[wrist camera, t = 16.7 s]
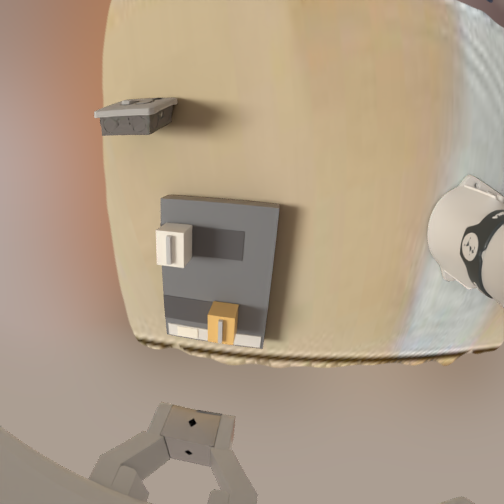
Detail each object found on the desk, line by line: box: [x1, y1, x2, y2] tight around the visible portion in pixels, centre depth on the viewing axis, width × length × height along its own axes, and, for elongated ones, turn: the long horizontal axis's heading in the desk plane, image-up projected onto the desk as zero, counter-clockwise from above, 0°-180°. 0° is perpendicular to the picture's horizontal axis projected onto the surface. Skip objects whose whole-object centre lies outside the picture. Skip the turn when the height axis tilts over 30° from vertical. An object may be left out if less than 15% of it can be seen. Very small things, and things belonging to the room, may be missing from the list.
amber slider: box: [208, 301, 239, 345], centre depth 44 cm, size 4×5×5 cm
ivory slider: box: [156, 223, 192, 268], centre depth 40 cm, size 4×5×5 cm
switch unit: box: [161, 195, 280, 349], centre depth 45 cm, size 17×24×3 cm
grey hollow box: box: [94, 98, 178, 136], centre depth 35 cm, size 9×5×9 cm, turn 83°
